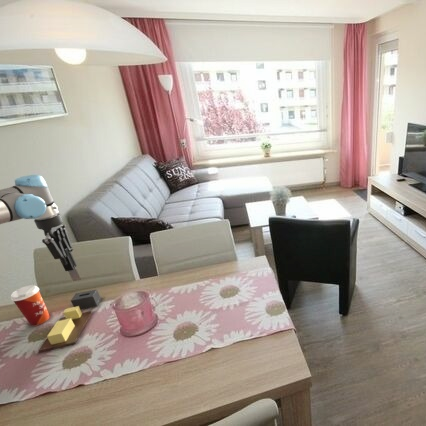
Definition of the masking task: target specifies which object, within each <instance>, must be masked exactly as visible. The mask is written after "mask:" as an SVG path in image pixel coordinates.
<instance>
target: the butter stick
mask: <svg viewBox="0 0 426 426" xmlns="http://www.w3.org/2000/svg"><path fill="white" fill-rule="evenodd" d="M74 327H75V325H74V323H73V321H72V319H71V318H70V319H65V320H61V321H59V320H57V321H56V322H55V324H54V326H52V328H51V330H50V331H49V332H48V334H47V335H46V339H47V338H48V340H49V342H50V343H51V345H53V344H57V343H61V342H65V341H66V340H67V338H68V337H69V335H70V333H71V332H72V330H73V328H74Z"/></svg>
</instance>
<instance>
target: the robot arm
mask: <svg viewBox="0 0 426 426" xmlns="http://www.w3.org/2000/svg"><path fill="white" fill-rule="evenodd" d="M22 219H24V220H33V222H34V224H35V226H36V228H37V229H38V230H42V231H43V234H44V236H45V238H43V239H42V240H41V242H42V243H43V244H44V245H45V246H46V248H47V250H48V251H49V252H50V254H51V255H52V257H53V259H54V260H60V263H61V266H62V267H63V269H64V271H65V272H68V271H71V270H74V267H73V265H72V263H71V261H70V259H69V256H68V255H67V256H66V253H65V251H64V248H67V249H68V251H69V253H70V255H71V258H72V260H73V262H74V264H75V267H77V266H78V265H77V263H76V261H75V259H74V257H73V254H72V252H74V249H73V245H72V242H71V239H70V236H69V233H68V230H67V225H66V224H63V223H64V219H63V218H62V216H61V214H60V213H59V208H58V206H57V204H56V203H55V201H54V198H53V196H52V193H51V191H50V189H49V186H48V184H47V182H46V180H45V179H44V177H43V176H42V175H39V174H29V175H28V174H27V175H24V176H19V177H17V178H15V179H14V185H13V186H10V187H7V188H1V189H0V225H3V224H7V223H11V222H14V221H19V220H22Z"/></svg>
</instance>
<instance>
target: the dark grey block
mask: <svg viewBox="0 0 426 426" xmlns="http://www.w3.org/2000/svg"><path fill="white" fill-rule="evenodd" d="M101 300H102V297H101V295H100V293H99V290H98V289H97V288H96V289H91V290H86V291H81V292H76V293H74V295H73V296H72V298H71V300H70V303H71V304H72V307H77V306H79V308H80V310H81V311H82V310H86V309H91V308H95V307H98V306H99V304H100V302H101Z"/></svg>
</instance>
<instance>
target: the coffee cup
mask: <svg viewBox="0 0 426 426" xmlns="http://www.w3.org/2000/svg"><path fill="white" fill-rule="evenodd" d="M10 294H11V295H10V301H12V302H13V303H14V305H15V306H16V307H17V308H18V309H19V311H20V312H21V314H22V315H23V317H24V318H25V319H26V321H27V322H28V323H29V325H30V326H32V327H35V326H36V327H37V326H38V325H41V324H44V323H45V322H47V321H48V320H49V319H50V317H51V315H50V313H49V311H48V309H47V306H46V304H45V302H44V299H43V297H42V295H41V292H40V288H39V287H38V286H36V285H35V284H31V285H26V286H21V287H20V288H18V289H16V290H14V291H13V292H12V293H10Z"/></svg>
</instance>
